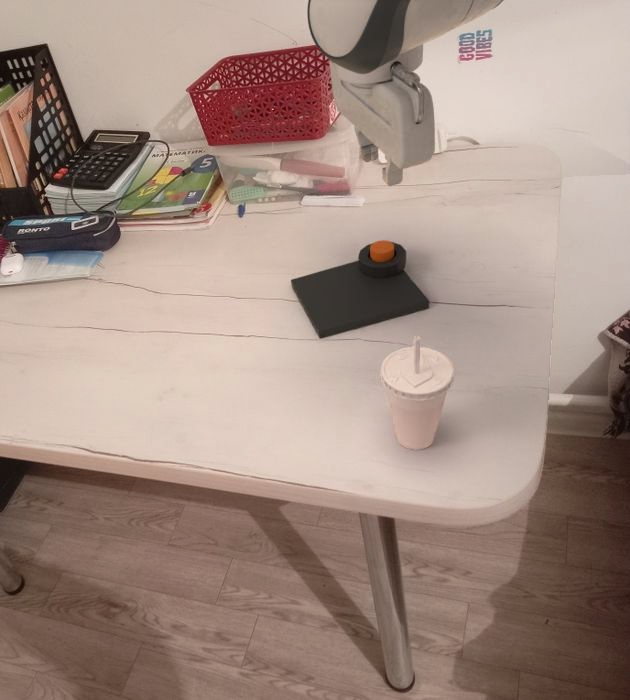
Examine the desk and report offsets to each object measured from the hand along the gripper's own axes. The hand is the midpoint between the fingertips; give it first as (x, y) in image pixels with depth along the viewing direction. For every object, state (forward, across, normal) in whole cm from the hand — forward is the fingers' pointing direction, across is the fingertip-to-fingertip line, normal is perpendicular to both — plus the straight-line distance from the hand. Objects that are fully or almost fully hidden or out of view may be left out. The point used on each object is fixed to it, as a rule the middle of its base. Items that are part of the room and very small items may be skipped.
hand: (380, 170), depth 75 cm
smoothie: (+15, -28, +8) cm, 32 cm away
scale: (+15, -4, +5) cm, 16 cm away
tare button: (+13, 0, 0) cm, 13 cm away
